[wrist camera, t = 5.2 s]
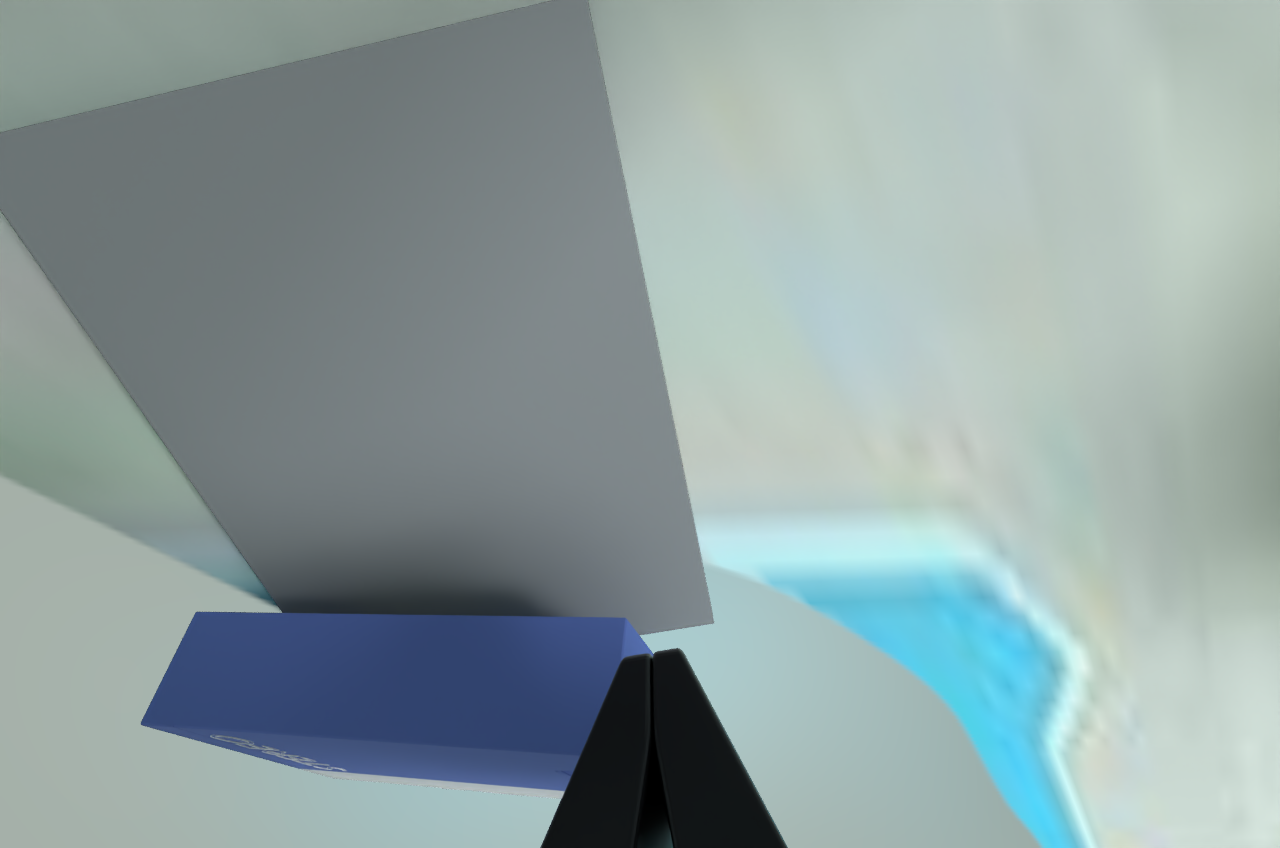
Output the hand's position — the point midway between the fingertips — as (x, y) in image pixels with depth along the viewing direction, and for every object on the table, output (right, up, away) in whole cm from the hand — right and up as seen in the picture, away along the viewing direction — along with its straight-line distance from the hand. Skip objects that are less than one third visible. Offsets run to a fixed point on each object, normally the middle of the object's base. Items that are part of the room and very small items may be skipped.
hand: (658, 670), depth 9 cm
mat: (-6, +3, +7) cm, 10 cm away
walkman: (0, -4, +7) cm, 8 cm away
